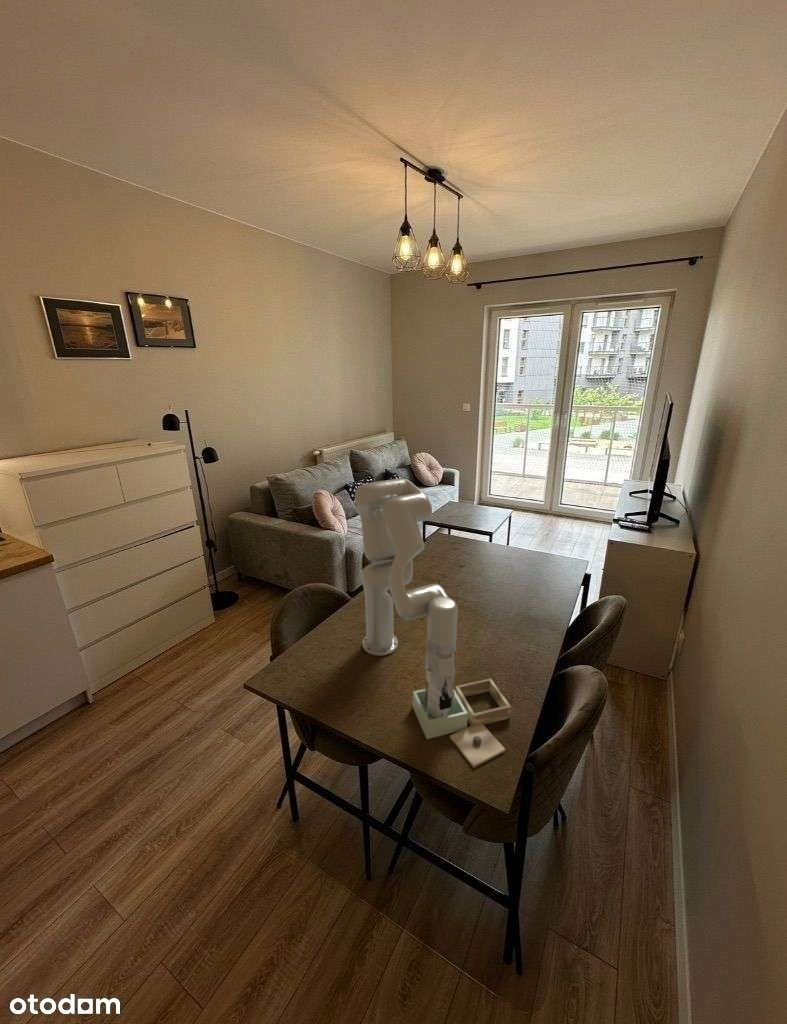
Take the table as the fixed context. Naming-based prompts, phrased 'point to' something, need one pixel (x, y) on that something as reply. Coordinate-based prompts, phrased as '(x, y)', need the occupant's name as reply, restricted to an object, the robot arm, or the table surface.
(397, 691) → the table surface
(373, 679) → the table surface
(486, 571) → the table surface
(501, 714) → the frame
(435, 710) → the syrup box
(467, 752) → the lid
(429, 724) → the bin
